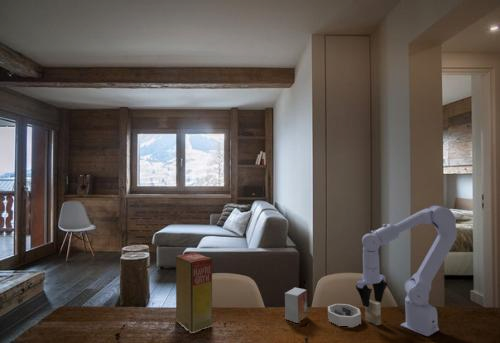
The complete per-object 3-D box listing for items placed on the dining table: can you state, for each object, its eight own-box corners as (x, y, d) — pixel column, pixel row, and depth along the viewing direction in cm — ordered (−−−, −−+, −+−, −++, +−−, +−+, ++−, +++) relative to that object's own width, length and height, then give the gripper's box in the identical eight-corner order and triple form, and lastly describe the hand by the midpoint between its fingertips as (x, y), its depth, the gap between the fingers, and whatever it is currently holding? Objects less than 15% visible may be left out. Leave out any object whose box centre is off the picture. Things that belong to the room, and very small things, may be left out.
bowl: (367, 321, 112) (366, 311, 112) (346, 330, 106) (346, 319, 106) (342, 310, 122) (341, 301, 122) (321, 318, 115) (321, 308, 115)
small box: (298, 325, 110) (297, 295, 111) (285, 321, 114) (284, 292, 114) (308, 317, 117) (307, 289, 117) (295, 313, 120) (294, 286, 120)
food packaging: (214, 326, 110) (213, 257, 111) (190, 335, 104) (190, 262, 105) (196, 314, 120) (195, 252, 121) (174, 322, 115) (174, 255, 116)
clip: (353, 317, 114) (353, 309, 114) (343, 321, 110) (343, 313, 111) (344, 313, 117) (344, 306, 117) (334, 317, 114) (334, 309, 114)
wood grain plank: (381, 324, 110) (380, 303, 110) (377, 325, 109) (376, 304, 109) (369, 319, 114) (368, 298, 114) (365, 320, 113) (364, 300, 113)
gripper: (373, 261, 119) (374, 296, 119) (349, 267, 111) (350, 304, 111) (390, 265, 114) (391, 301, 113) (366, 271, 106) (367, 311, 105)
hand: (372, 303), depth 112 cm, fingers open, 7 cm apart
